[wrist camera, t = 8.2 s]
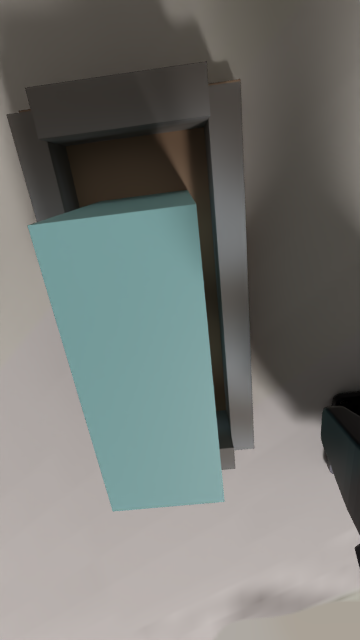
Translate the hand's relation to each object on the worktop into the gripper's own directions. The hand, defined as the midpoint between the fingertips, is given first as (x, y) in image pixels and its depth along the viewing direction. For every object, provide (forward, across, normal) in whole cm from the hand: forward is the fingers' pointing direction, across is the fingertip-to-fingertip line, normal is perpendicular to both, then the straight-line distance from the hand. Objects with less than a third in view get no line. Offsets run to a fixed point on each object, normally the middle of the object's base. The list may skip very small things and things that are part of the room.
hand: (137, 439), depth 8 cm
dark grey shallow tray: (+11, 0, 0) cm, 11 cm away
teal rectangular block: (+10, 0, 0) cm, 10 cm away
